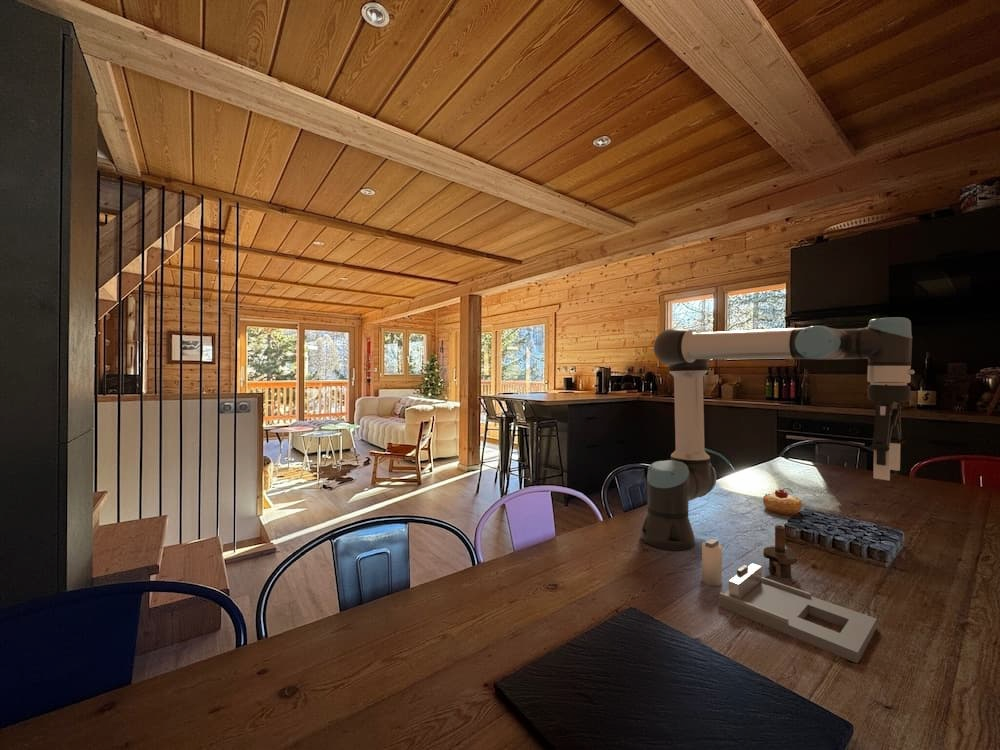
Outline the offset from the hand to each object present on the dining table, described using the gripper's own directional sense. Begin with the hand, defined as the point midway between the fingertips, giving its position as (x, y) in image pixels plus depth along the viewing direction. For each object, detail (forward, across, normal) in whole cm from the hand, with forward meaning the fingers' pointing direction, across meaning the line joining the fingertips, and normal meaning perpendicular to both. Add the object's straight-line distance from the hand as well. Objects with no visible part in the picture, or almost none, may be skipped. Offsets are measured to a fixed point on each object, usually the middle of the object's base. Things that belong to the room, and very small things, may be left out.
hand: (887, 474), depth 101 cm
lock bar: (+25, -29, +20) cm, 43 cm away
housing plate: (+27, -29, +10) cm, 41 cm away
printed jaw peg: (+28, -27, +28) cm, 48 cm away
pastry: (+28, +45, +35) cm, 63 cm away
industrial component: (+28, -10, +19) cm, 35 cm away
